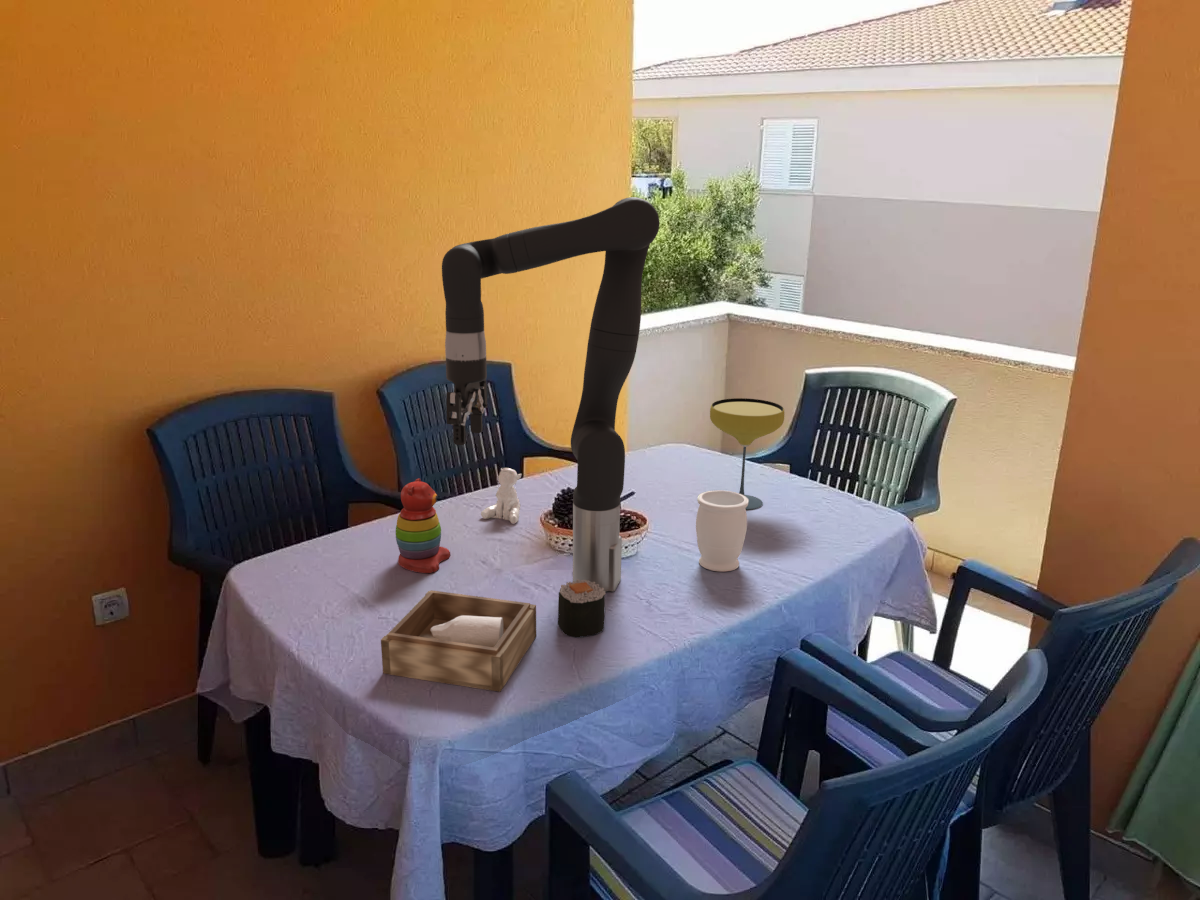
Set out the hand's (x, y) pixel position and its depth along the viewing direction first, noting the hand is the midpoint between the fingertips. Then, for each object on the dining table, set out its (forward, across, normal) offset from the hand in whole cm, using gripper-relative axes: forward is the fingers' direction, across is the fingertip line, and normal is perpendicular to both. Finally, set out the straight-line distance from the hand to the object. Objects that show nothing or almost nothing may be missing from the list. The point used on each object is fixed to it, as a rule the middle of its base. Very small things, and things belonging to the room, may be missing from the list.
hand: (468, 438), depth 170 cm
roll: (+29, -27, -10) cm, 41 cm away
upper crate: (+30, -27, -9) cm, 41 cm away
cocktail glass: (+30, +61, -48) cm, 83 cm away
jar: (+30, +22, -47) cm, 60 cm away
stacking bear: (+30, +6, +14) cm, 34 cm away
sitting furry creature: (+30, +36, +6) cm, 47 cm away
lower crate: (+30, -27, -9) cm, 41 cm away
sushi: (+30, -12, -26) cm, 42 cm away
